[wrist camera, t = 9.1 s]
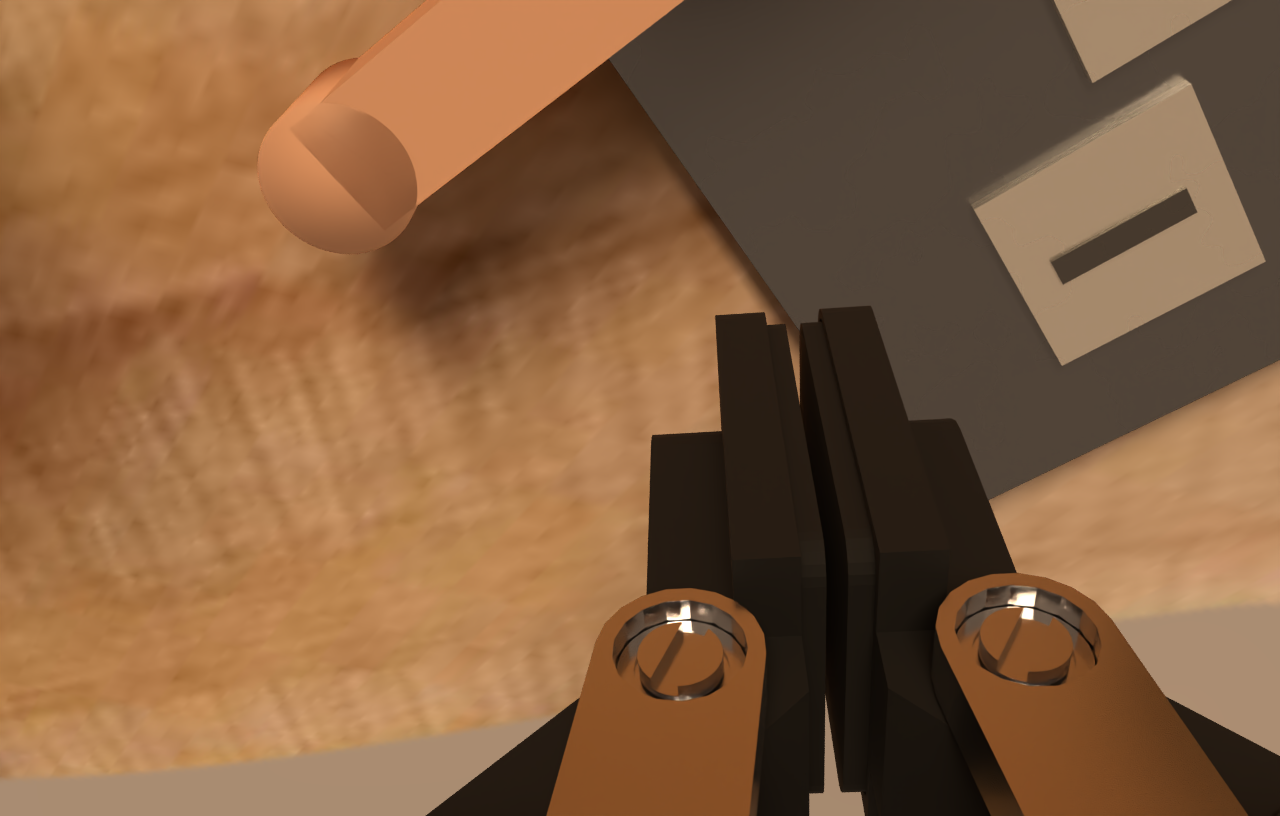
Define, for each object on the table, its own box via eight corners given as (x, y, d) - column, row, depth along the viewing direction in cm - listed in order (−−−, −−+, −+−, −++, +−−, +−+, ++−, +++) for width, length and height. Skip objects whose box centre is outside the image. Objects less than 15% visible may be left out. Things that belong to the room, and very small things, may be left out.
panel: (1279, -802, 17) (1549, -1023, 12) (1540, 202, 25) (1758, 324, 20) (480, -140, 22) (427, -95, 17) (928, 503, 31) (981, 659, 26)
